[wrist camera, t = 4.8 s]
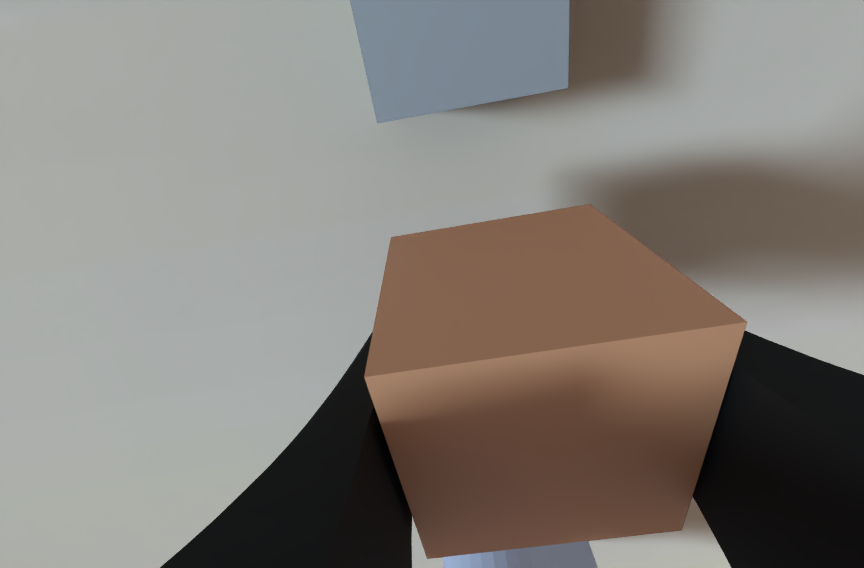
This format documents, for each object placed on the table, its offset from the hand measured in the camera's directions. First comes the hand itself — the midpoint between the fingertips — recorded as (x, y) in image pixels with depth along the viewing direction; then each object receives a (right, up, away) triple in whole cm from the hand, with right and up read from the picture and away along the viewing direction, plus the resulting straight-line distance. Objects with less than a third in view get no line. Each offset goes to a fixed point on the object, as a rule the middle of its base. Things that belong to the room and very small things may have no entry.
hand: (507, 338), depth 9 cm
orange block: (0, +1, +1) cm, 2 cm away
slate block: (-1, +11, +4) cm, 11 cm away
